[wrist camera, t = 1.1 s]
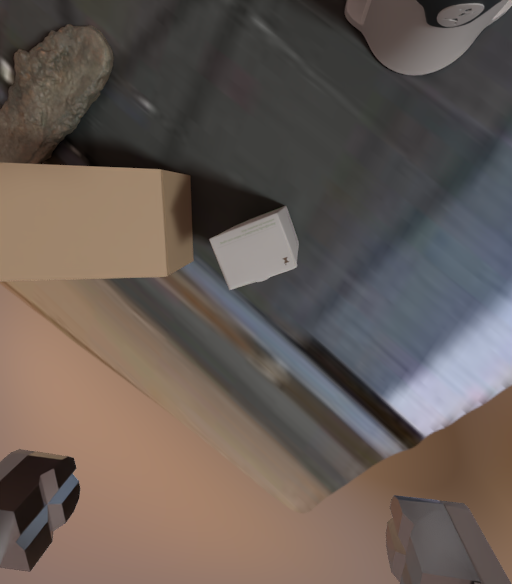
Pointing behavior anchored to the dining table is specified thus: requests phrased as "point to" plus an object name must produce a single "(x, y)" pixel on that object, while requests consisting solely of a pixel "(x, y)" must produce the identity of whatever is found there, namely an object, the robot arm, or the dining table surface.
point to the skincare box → (257, 248)
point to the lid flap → (80, 222)
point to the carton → (177, 219)
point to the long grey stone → (52, 92)
